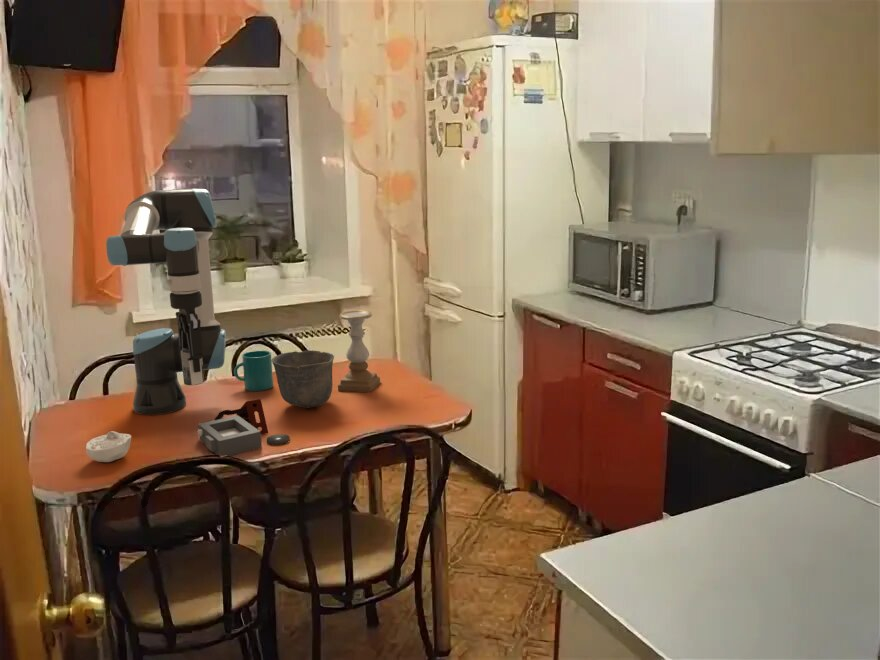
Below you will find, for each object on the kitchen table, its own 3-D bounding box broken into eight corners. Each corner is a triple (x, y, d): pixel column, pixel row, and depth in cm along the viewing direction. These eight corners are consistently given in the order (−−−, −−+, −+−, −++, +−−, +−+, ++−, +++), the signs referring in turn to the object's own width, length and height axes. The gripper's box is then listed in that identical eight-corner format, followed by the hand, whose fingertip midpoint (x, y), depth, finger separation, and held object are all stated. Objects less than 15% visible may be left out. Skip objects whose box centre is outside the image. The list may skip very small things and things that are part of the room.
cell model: (77, 465, 208) (73, 440, 206) (111, 448, 219) (108, 424, 217) (109, 470, 204) (106, 444, 203) (142, 453, 215) (139, 428, 214)
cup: (234, 386, 270) (231, 353, 267) (271, 382, 274) (268, 349, 271) (237, 394, 262) (234, 360, 259) (275, 389, 266) (272, 355, 263)
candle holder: (380, 382, 271) (377, 310, 265) (370, 392, 260) (367, 317, 255) (348, 380, 273) (345, 309, 267) (337, 390, 263) (333, 317, 257)
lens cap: (263, 440, 222) (263, 437, 222) (284, 435, 225) (284, 432, 225) (272, 446, 217) (272, 443, 217) (293, 441, 220) (293, 438, 220)
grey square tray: (195, 440, 223) (193, 424, 222) (239, 430, 229) (237, 415, 228) (216, 458, 210) (214, 442, 209) (261, 447, 216) (260, 431, 215)
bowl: (295, 420, 237) (292, 369, 233) (264, 406, 250) (260, 357, 246) (347, 405, 248) (344, 357, 245) (314, 393, 261) (311, 346, 258)
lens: (181, 381, 213) (178, 347, 210) (201, 378, 215) (197, 344, 213) (187, 386, 208) (183, 351, 206) (206, 383, 211) (203, 348, 209)
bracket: (230, 440, 222) (222, 404, 224) (220, 451, 235) (213, 416, 237) (268, 433, 227) (260, 397, 229) (257, 443, 240) (249, 410, 242)
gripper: (160, 287, 212) (169, 375, 217) (179, 298, 197) (189, 392, 202) (190, 284, 216) (198, 370, 221) (211, 294, 201) (219, 387, 206)
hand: (194, 380), depth 212 cm, fingers closed on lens, 5 cm apart
